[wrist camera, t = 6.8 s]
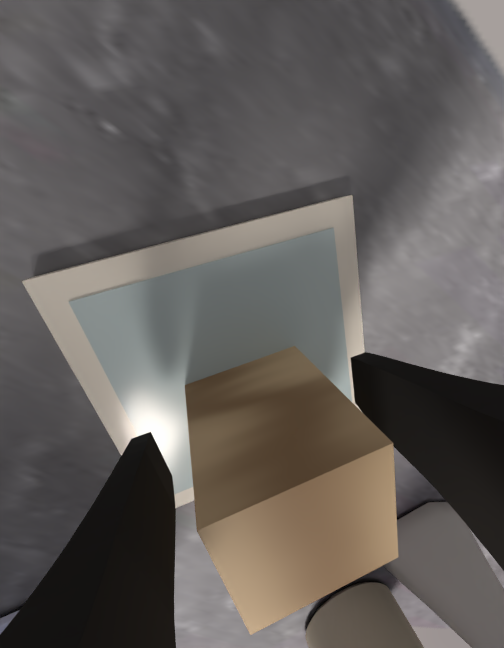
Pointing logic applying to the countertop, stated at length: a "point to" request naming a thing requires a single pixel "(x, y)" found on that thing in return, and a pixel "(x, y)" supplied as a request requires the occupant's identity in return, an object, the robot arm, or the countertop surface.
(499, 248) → the countertop surface
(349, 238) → the picture frame
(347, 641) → the travel mug
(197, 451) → the oak block
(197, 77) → the countertop surface
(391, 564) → the flask
